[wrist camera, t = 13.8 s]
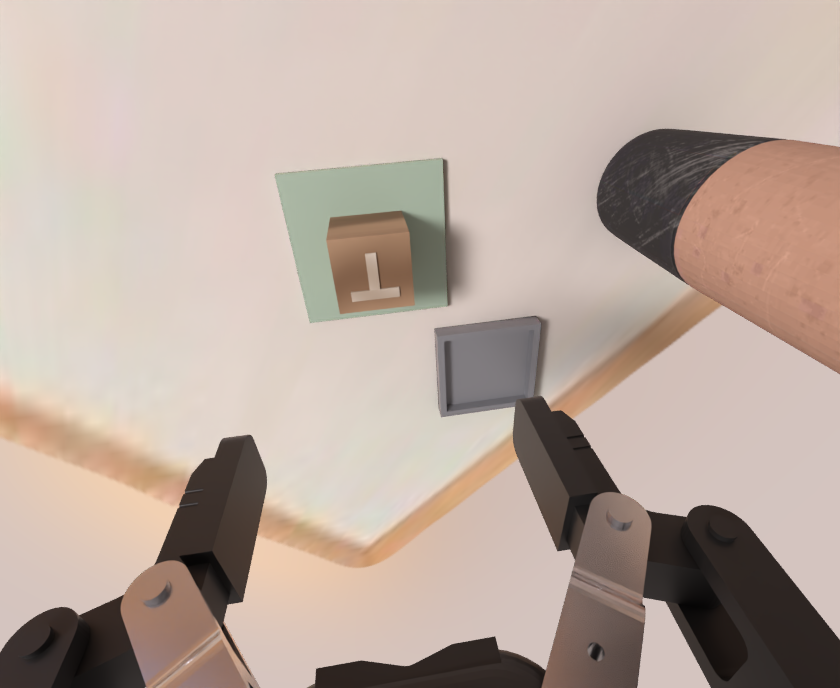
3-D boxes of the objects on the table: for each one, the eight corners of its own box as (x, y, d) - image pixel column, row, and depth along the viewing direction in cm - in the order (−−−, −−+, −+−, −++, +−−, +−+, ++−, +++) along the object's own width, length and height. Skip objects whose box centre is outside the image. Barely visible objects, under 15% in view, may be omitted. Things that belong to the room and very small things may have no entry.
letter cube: (330, 217, 26) (326, 241, 22) (401, 210, 27) (409, 232, 23) (341, 284, 29) (340, 316, 25) (407, 277, 29) (415, 307, 25)
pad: (275, 173, 25) (274, 174, 24) (441, 158, 26) (442, 159, 25) (310, 320, 30) (309, 323, 30) (446, 303, 31) (447, 306, 31)
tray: (434, 328, 32) (436, 336, 31) (535, 315, 33) (541, 323, 32) (438, 407, 36) (441, 417, 35) (527, 395, 37) (532, 404, 36)
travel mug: (593, 255, 30) (888, 467, 14) (589, 144, 26) (1004, 254, 10) (695, 224, 30) (1121, 401, 14) (707, 107, 26) (1345, 153, 9)
